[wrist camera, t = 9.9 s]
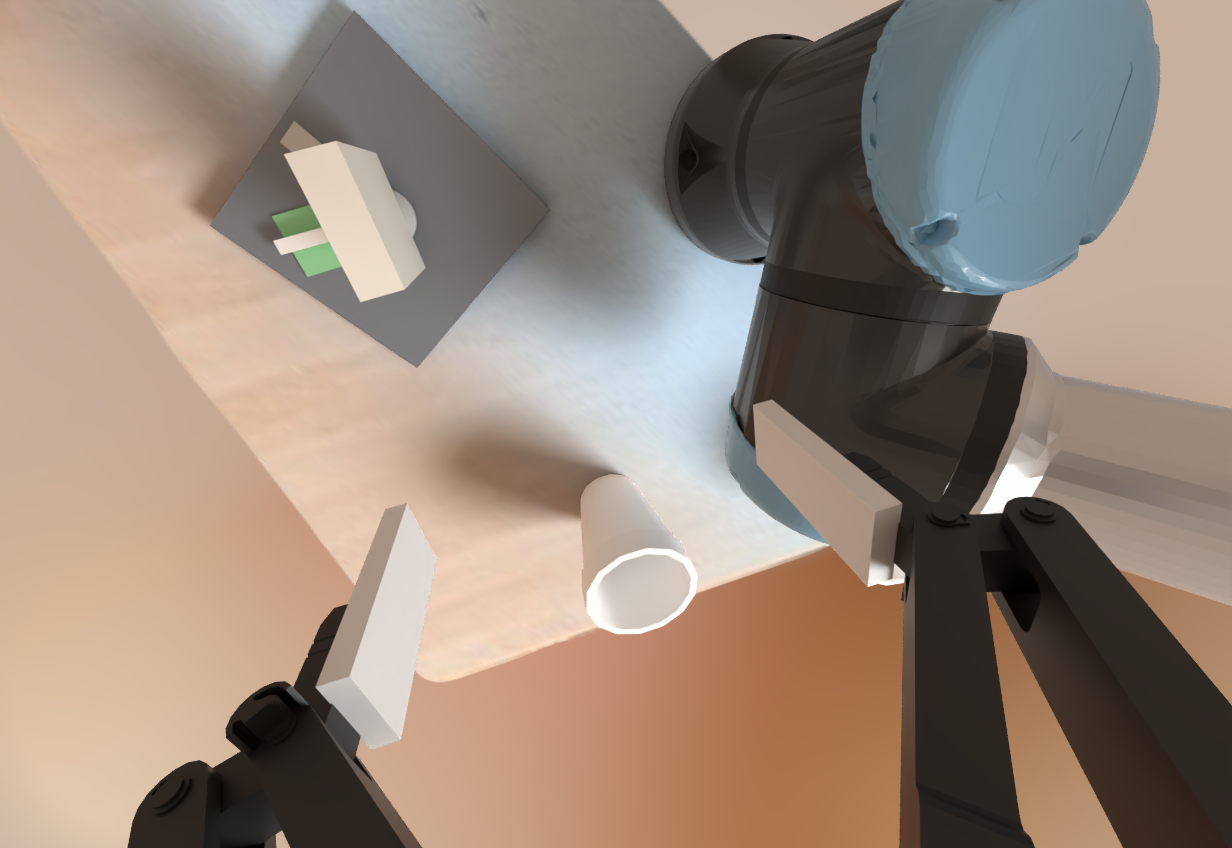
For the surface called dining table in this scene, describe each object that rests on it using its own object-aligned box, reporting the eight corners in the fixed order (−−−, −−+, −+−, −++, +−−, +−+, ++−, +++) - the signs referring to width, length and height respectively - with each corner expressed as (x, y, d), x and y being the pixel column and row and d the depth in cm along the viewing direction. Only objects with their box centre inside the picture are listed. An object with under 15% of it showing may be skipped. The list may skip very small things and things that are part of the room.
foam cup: (564, 465, 45) (586, 556, 34) (654, 456, 47) (703, 540, 36) (566, 539, 50) (586, 643, 38) (648, 529, 52) (690, 624, 40)
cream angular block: (253, 189, 29) (148, 189, 21) (392, 152, 30) (348, 137, 21) (313, 296, 33) (246, 335, 24) (437, 261, 33) (415, 286, 25)
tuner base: (361, 18, 28) (353, 9, 26) (548, 208, 35) (550, 209, 33) (222, 224, 31) (208, 225, 29) (419, 361, 38) (416, 368, 36)
